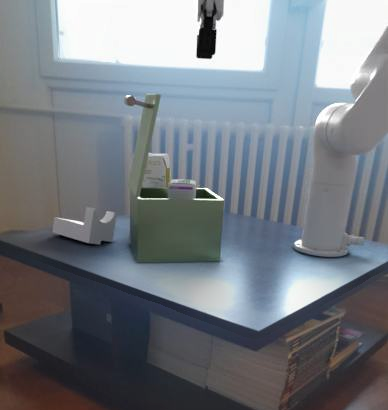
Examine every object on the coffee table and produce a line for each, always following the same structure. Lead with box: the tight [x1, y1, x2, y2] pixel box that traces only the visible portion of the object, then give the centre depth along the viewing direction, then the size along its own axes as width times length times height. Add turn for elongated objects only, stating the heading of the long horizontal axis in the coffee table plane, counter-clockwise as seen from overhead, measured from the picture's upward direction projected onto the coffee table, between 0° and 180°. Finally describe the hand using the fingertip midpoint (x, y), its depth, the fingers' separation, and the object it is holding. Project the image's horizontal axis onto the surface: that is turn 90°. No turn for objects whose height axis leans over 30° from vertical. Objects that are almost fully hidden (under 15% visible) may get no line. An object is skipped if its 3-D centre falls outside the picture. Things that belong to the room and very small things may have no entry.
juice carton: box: [130, 152, 171, 188], centre depth 121 cm, size 8×9×19 cm
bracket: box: [51, 206, 118, 245], centre depth 117 cm, size 13×7×8 cm, turn 51°
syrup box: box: [168, 178, 197, 199], centre depth 108 cm, size 6×6×14 cm
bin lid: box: [123, 93, 162, 197], centre depth 99 cm, size 18×15×5 cm
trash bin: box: [129, 187, 225, 264], centre depth 108 cm, size 18×15×13 cm
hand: (205, 56), depth 96 cm, fingers open, 9 cm apart
